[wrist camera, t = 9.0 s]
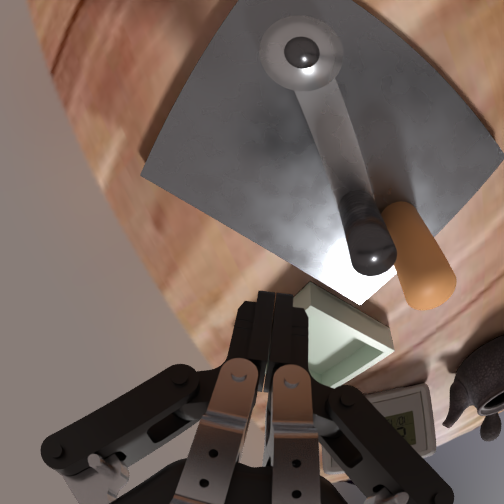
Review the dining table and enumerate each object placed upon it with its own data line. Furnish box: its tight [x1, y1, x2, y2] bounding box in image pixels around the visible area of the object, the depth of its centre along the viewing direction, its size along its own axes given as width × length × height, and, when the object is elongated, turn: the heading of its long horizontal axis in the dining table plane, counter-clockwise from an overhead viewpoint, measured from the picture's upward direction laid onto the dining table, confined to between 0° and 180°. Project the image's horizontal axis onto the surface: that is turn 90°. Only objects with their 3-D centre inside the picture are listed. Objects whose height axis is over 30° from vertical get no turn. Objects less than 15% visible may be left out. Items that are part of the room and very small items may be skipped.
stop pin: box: [381, 201, 456, 310], centre depth 18 cm, size 3×3×8 cm
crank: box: [259, 15, 397, 277], centre depth 15 cm, size 16×4×7 cm, turn 24°
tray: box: [265, 282, 395, 389], centre depth 30 cm, size 11×11×3 cm
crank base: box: [140, 0, 504, 305], centre depth 19 cm, size 18×21×2 cm
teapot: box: [442, 335, 504, 441], centre depth 30 cm, size 19×15×10 cm
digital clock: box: [322, 384, 436, 474], centre depth 35 cm, size 16×9×11 cm, turn 101°
